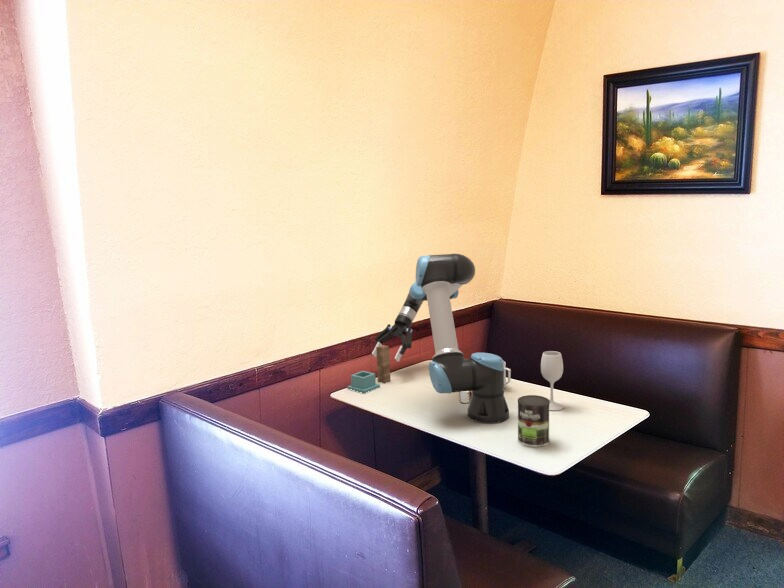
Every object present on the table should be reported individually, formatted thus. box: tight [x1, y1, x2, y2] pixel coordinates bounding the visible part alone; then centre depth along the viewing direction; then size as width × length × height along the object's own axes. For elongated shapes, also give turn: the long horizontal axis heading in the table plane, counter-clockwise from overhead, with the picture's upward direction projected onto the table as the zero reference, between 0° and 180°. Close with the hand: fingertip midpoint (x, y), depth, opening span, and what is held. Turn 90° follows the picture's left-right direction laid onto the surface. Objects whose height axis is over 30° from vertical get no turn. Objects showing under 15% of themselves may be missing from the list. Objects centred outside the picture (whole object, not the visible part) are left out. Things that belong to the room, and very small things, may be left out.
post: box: [376, 344, 392, 384], centre depth 267 cm, size 4×4×16 cm
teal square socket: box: [346, 370, 381, 394], centre depth 259 cm, size 10×10×6 cm
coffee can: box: [517, 394, 550, 448], centre depth 198 cm, size 10×10×14 cm
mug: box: [503, 360, 512, 389], centre depth 251 cm, size 12×9×11 cm
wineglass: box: [540, 350, 565, 411], centre depth 227 cm, size 9×9×21 cm
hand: (384, 357), depth 268 cm, fingers open, 13 cm apart
